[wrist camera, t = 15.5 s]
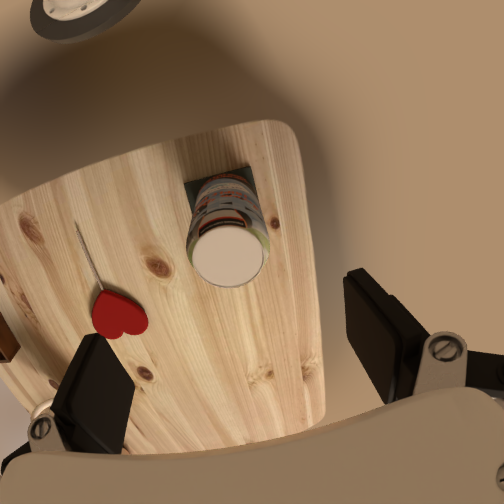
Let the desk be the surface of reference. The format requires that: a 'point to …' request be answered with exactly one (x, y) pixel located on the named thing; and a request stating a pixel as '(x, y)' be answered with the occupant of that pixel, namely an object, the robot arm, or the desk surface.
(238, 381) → the desk surface
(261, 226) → the beverage can
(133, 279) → the desk surface
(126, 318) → the lollipop
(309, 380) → the desk surface
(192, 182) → the coaster
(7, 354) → the wooden box
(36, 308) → the desk surface
